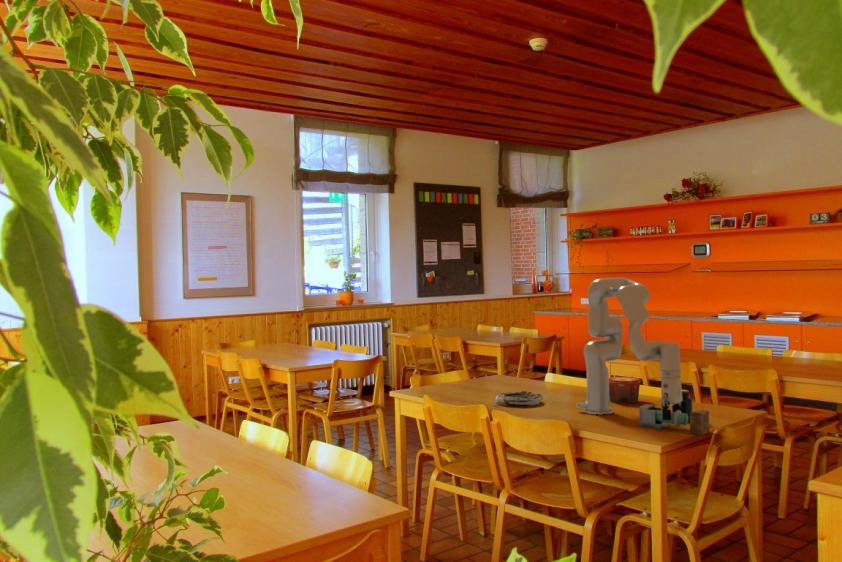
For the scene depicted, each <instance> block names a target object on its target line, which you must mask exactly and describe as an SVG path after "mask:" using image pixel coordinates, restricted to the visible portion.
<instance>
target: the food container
mask: <svg viewBox="0 0 842 562" xmlns="http://www.w3.org/2000/svg"><path fill="white" fill-rule="evenodd" d="M641 384H642V380H640V378H639V377H633V376H631V377H630V376H610V377H609V402H612V403H615V404H622V403H630V404H636V403H638V402H639V395H640V386H641Z"/></svg>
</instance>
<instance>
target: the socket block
mask: <svg viewBox="0 0 842 562" xmlns="http://www.w3.org/2000/svg"><path fill="white" fill-rule="evenodd" d="M689 427H690V428H689V431H690V432H689V434H690V435H695V436H704V435H705V434H708V433H710V411H709V410H704V409H703V410H702V409H696V410H693V412H692V413H690V421H689Z"/></svg>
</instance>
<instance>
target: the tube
mask: <svg viewBox="0 0 842 562" xmlns="http://www.w3.org/2000/svg"><path fill="white" fill-rule="evenodd" d="M649 410H651V409H649ZM656 421H657V422H665V423H667V424H673V425H674V426H675V427H677V428H680V427H681V425H682V426H687V425H688V422H689V421H688V414H685V413H681V411H680V410H676V412H672V411H671V420H663V417H662V411H660V410H656Z"/></svg>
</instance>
